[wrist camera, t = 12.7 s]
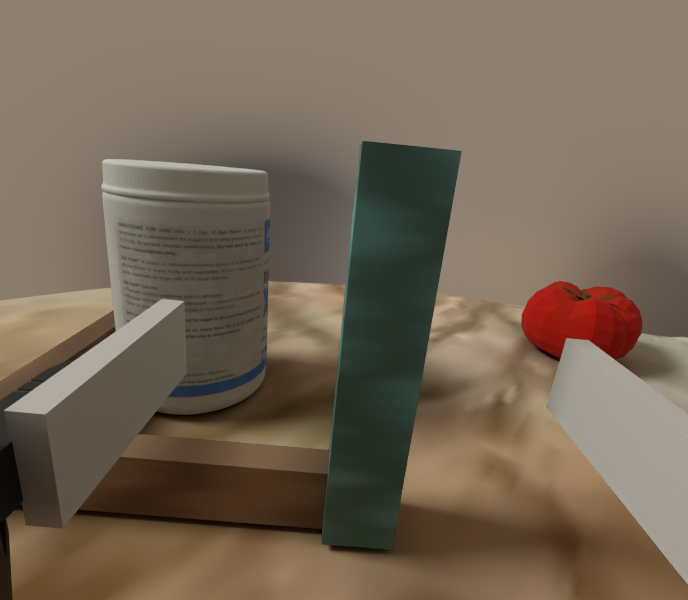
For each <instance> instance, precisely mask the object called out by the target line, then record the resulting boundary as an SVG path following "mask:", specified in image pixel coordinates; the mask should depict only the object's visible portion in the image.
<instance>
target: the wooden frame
mask: <svg viewBox="0 0 688 600" xmlns="http://www.w3.org/2000/svg"><path fill="white" fill-rule="evenodd" d="M460 157H461V151H456V150H447V149H436V148H426V147H417V146H407V145H397V144H388V143H378V142H368V141H362V143H361V144H360V148H359V158H358V169H357V178H356V188H355V199H354V209H353V218H352V228H351V238H350V248H349V258H348V268H347V278H346V288H345V298H344V308H343V318H342V328H341V338H340V348H339V358H338V367H337V377H336V387H335V397H334V407H333V417H332V427H331V437H330V447H329V450H322V449H310V448H298V447H286V446H274V445H263V444H251V443H239V442H227V441H215V440H203V439H191V438H180V437H168V436H156V435H144V434H138V435H137V436H136V437H135V439H134V440H133V441H132V442H131V444H130V445H129V446H128V447H127V449H126V450H125V451H124V453H123V454H122V455H121V456H120V458H119V459H118V460H117V461H116V463H115V464H114V465H113V466H112V468H111V469H110V470H109V471H108V473H107V474H106V475H105V476H104V478H103V479H102V480H101V481H100V483H99V484H98V485H97V486H96V488H95V489H94V490H93V492H92V493H91V494H90V495H89V497H88V498H87V499H86V500H85V502H84V503H83V504H82V505H81V507H80V508H79V509H78V510H90V511H102V512H115V513H127V514H140V515H152V516H165V517H177V518H189V519H202V520H214V521H227V522H239V523H252V524H264V525H277V526H289V527H302V528H314V529H322V544H326V545H338V546H351V547H364V548H376V549H389V550H392V546H393V540H394V535H395V529H396V523H397V517H398V512H399V506H400V500H401V495H402V489H403V483H404V477H405V472H406V466H407V460H408V455H409V449H410V443H411V437H412V432H413V426H414V420H415V415H416V409H417V403H418V397H419V392H420V386H421V380H422V375H423V369H424V363H425V357H426V352H427V346H428V340H429V334H430V329H431V323H432V317H433V312H434V306H435V300H436V294H437V289H438V283H439V277H440V272H441V266H442V260H443V254H444V248H445V243H446V237H447V231H448V226H449V220H450V214H451V208H452V203H453V197H454V192H455V186H456V180H457V174H458V168H459V163H460ZM114 332H116V328H115V319H114V310H113V311H112V312H110V313H108V314H107V315H105V316H104V317H102V318H100V319H99V320H97V321H96V322H94V323H92V324H91V325H89V326H88V327H86V328H84V329H83V330H81V331H80V332H78V333H77V334H75V335H73V336H72V337H70V338H69V339H67V340H65V341H64V342H62V343H61V344H59V345H57V346H56V347H54V348H53V349H51V350H49V351H48V352H46V353H45V354H43V355H41V356H40V357H38V358H37V359H35V360H33V361H32V362H30V363H29V364H27V365H25V366H24V367H22V368H21V369H19V370H17V371H16V372H14V373H13V374H11V375H9V376H8V377H6V378H5V379H3V380H2V381H0V400H1V399H3V398H4V397H6V396H7V395H9V394H10V393H12V392H13V391H17V390H18V388H19V387H21V386H22V385H24V384H25V383H27V382H31V379H33V378H34V377H36V376H37V375H39V374H40V373H42V372H43V371H45V370H46V369H48V368H51V367H53V366H56V365H58V364H61V363H63V362H66V361H68V360H69V361H75V360H76V359H78V358H79V357H80V356H82V355H83V354H85V353H86V352H87V351H89V350H90V349H92V348H93V347H95V346H96V345H97V344H99V343H100V342H102V341H103V340H104V339H106V338H107V337H109V336H110V335H112V334H113V333H114ZM20 505H22V503H21V504H20Z"/></svg>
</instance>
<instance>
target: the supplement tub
mask: <svg viewBox="0 0 688 600" xmlns="http://www.w3.org/2000/svg"><path fill="white" fill-rule="evenodd" d="M102 165H103V181H104V182H103V184H102V189H103V191H104V192H103V195H102V197H103V208H104V219H105V229H106V240H107V250H108V260H109V270H110V279H111V290H112V299H113V309H114V319H115V328H116V331H117V330H119V329H120V328H121V327H123V326H124V325H126V324H127V323H129V322H130V321H131V320H133V319H134V318H136V317H137V316H138V315H140V314H141V313H143V312H144V311H146V310H147V309H148V308H150V307H151V306H153V305H154V304H155V303H157V302H158V301H160V300H161V299H168V300H178V301H185V335H186V369H187V373H186V375H185V376H184V377H183V378H182V380H181V381H180V382H179V383H178V385H177V386H176V387H175V388H174V390H173V391H172V392H171V393H170V395H169V396H168V397H167V398H166V400H165V401H164V402H163V403H162V405H161V406H160V407H159V408H158V410H157V412H161V413H167V414H176V415H190V414H200V413H206V412H212V411H216V410H220V409H223V408H226V407H229V406H231V405H234V404H236V403H238V402H240V401H242V400H244V399H245V398H247V397H248V396H250V395H251V394H252V393H254V392H255V391H256V390H257V389H258V387H259V386H260V385H261V383H262V382H263V379H264V377H265V373H266V355H267V318H268V277H269V238H270V237H269V234H270V202H269V200H268V199H269V198H270V195H269V193H268V174H267V173H266V172H265V171H259V170H250V169H241V168H229V167H220V166H219V167H218V166H208V165H196V164H183V163H170V162H155V161H140V160H120V159H106V160H104V161H103V162H102Z"/></svg>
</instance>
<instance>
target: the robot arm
mask: <svg viewBox="0 0 688 600" xmlns="http://www.w3.org/2000/svg"><path fill="white" fill-rule="evenodd" d="M186 373H187V369H186V335H185V301H178V300H168V299H161V300H160V301H158V302H157V303H155V304H154V305H153V306H151V307H150V308H148V309H147V310H146V311H144V312H143V313H141V314H140V315H138V316H137V317H136V318H134V319H133V320H131V321H130V322H129V323H127V324H126V325H124V326H123V327H121V328H120V329H119V330H117V331H116V332H114V333H113V334H112V335H110V336H109V337H107V338H106V339H104V340H103V341H102V342H100V343H99V344H97V345H96V346H95V347H93V348H92V349H90V350H89V351H87V352H86V353H85V354H83V355H82V356H80V357H79V358H78V359H76V360H75V361H69V360H68V361H66V362H63V363H61V364H58V365H56V366H53V367H51V368H48V369H46V370H45V371H43V372H42V373H40V374H39V375H37V376H36V377H34V378H33V379H31V382H27V383H25V384H24V385H22V386H21V387H19V388H18V390H17V391H13V392H12V393H10V394H9V395H7V396H6V397H4V398H3V399H1V400H0V600H12V582H11V564H10V547H9V531H8V526H7V521H6V518H7V517H8V516H9V515H10V514H11V513H12V512H13V511H14V510H15V509H16V508H17V507H18V506H19V505H20V504H21V503H22V507H23V512H24V517H25V523H26V525H30V526H41V527H53V528H64V527H65V525H66V524H67V523H68V522H69V520H70V519H71V518H72V517H73V515H74V514H75V513H76V512H77V510H78V509H79V508H80V507H81V505H82V504H83V503H84V502H85V500H86V499H87V498H88V497H89V495H90V494H91V493H92V492H93V490H94V489H95V488H96V486H97V485H98V484H99V483H100V481H101V480H102V479H103V478H104V476H105V475H106V474H107V473H108V471H109V470H110V469H111V468H112V466H113V465H114V464H115V463H116V461H117V460H118V459H119V458H120V456H121V455H122V454H123V453H124V451H125V450H126V449H127V447H128V446H129V445H130V444H131V442H132V441H133V440H134V439H135V437H136V436H137V435H138V434H139V432H140V431H141V430H142V429H143V427H144V426H145V425H146V424H147V422H148V421H149V420H150V419H151V417H152V416H153V415H154V414H155V412H156V411H157V410H158V408H159V407H160V406H161V405H162V403H163V402H164V401H165V400H166V398H167V397H168V396H169V395H170V393H171V392H172V391H173V390H174V388H175V387H176V386H177V385H178V383H179V382H180V381H181V380H182V378H183V377H184V376H185V375H186ZM547 409H548V410H549V411H550V412H551V414H552V415H553V416H554V418H555V419H556V420H557V421H558V423H559V424H560V425H561V426H562V428H563V429H564V430H565V431H566V433H567V434H568V435H569V436H570V438H571V439H572V440H573V441H574V443H575V444H576V445H577V446H578V448H579V449H580V450H581V451H582V453H583V454H584V455H585V456H586V458H587V459H588V460H589V461H590V463H591V464H592V465H593V466H594V468H595V469H596V470H597V471H598V473H599V474H600V475H601V476H602V478H603V479H604V480H605V481H606V483H607V484H608V485H609V486H610V488H611V489H612V490H613V491H614V493H615V494H616V495H617V496H618V498H619V499H620V500H621V501H622V503H623V504H624V505H625V507H626V508H627V509H628V510H629V512H630V513H631V514H632V515H633V517H634V518H635V519H636V520H637V522H638V523H639V524H640V525H641V527H642V528H643V529H644V530H645V532H646V533H647V534H648V535H649V537H650V538H651V539H652V540H653V542H654V543H655V544H656V545H657V547H658V548H659V549H660V550H661V552H662V553H663V554H664V555H665V557H666V558H667V559H668V560H669V562H670V563H671V564H672V565H673V567H674V568H675V569H676V570H677V572H678V573H679V574H680V575H681V577H682V578H683V579H684V580H685V582H686V583H687V584H688V414H687V413H686V412H684V411H683V410H681V409H680V408H679V407H677V406H676V405H675V404H673V403H672V402H671V401H669V400H668V399H667V398H665V397H664V396H663V395H661V394H660V393H659V392H657V391H656V390H655V389H653V388H652V387H651V386H649V385H648V384H647V383H645V382H644V381H643V380H641V379H640V378H639V377H637V376H636V375H635V374H633V373H632V372H631V371H629V370H628V369H626V368H625V367H624V366H622V365H621V364H620V363H618V362H617V361H616V360H614V359H613V358H612V357H610V356H609V355H608V354H606V353H605V352H604V351H602V350H601V349H600V348H598V347H597V346H596V345H594V344H593V343H592V342H590V341H589V340H581V339H571V338H566V342H565V345H564V348H563V352H562V355H561V359H560V362H559V366H558V369H557V372H556V376H555V379H554V383H553V386H552V390H551V393H550V396H549V400H548V403H547Z"/></svg>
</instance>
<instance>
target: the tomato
mask: <svg viewBox="0 0 688 600" xmlns="http://www.w3.org/2000/svg"><path fill="white" fill-rule="evenodd" d="M642 323H643V322H642V318H641V315H640V311H639V309H638V308H637V307H636V305H635V304H634V303H633V301H632V300H629V299H627V297H626V296H625V295H624V294H623V293H622V292H620V291H617V290H615V289H613V288H609V287H593V288H589V289H585V290H584V289H583V290H580V289H578V287H577V286H575V285H573V284H571V283H568V282H563V281H560V282H555V283H553V284H551V285H549V286H547V287H545V288H544V289H541V290H539V291H537V292H536V293H535V294H534V295H533V296H532V297H531V298H530V299H529V300H528V302H527V305H526V307H525V309H524V311H523V313H522V322H521V326H522V329H523V331H524V334H525V336H526V337H527V339H528V340H529V341H530V342H531V343H532V344H533V345H535V346H536V347H538V348H540V349H542V350H544V351H546V352H547V353H549V354H551V355H553V356H555V357H557V358H558V359H561V355H562V352H563V348H564V345H565V342H566V338H571V339H581V340H589V341H590V342H592V343H593V344H594V345H596V346H597V347H598V348H600V349H601V350H602V351H604V352H605V353H606V354H608V355H609V356H610V357H612V358H613V359H617V358H621V357H623V356H624V355H625V354H627V353H628V352H629V351H630V350H631V349H632V348H633V347H634V345H635V344H636V342H637V340H638V338H639V336H640V335H641V330H642Z"/></svg>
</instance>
